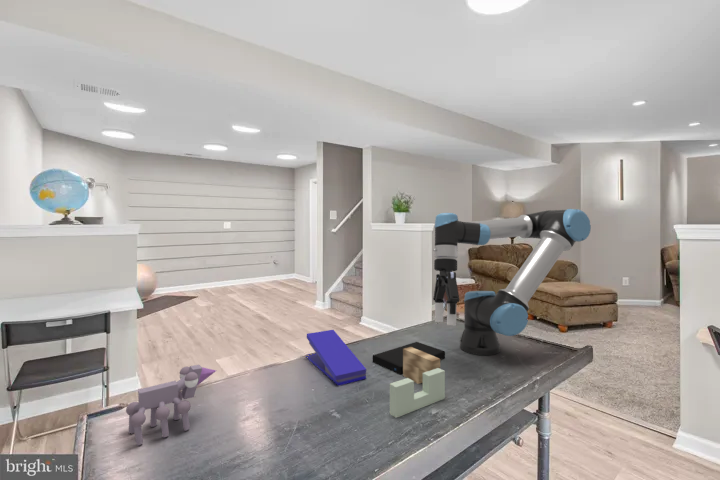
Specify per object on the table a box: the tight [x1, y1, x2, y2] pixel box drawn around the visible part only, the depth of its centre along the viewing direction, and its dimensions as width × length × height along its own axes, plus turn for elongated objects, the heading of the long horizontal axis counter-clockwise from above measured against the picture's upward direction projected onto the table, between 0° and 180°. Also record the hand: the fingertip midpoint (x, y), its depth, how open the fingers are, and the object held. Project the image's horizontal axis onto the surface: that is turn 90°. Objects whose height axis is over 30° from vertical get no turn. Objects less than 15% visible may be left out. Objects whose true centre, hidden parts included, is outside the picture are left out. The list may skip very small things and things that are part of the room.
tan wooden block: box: [402, 347, 441, 385], centre depth 111 cm, size 13×4×9 cm, turn 34°
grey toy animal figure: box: [125, 364, 217, 446], centre depth 87 cm, size 20×11×14 cm, turn 127°
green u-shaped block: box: [389, 367, 446, 418], centre depth 96 cm, size 18×2×8 cm, turn 124°
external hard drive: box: [372, 341, 446, 376], centre depth 129 cm, size 14×23×3 cm, turn 129°
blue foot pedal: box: [305, 329, 367, 386], centre depth 123 cm, size 12×28×10 cm, turn 30°
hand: (444, 323), depth 116 cm, fingers open, 13 cm apart
